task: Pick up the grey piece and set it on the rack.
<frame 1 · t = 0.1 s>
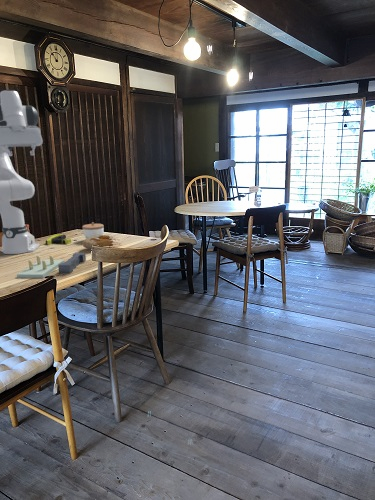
hand: (21, 155, 181), 52 cm above the table, tool tilted 20°, fingers open, 8 cm apart
stun gun: (61, 242, 247), on the table
rack: (42, 269, 188), on the table
grey piece: (73, 266, 192), on the table
lidded bowl: (94, 240, 247), on the table
nautilus: (102, 249, 224), on the table
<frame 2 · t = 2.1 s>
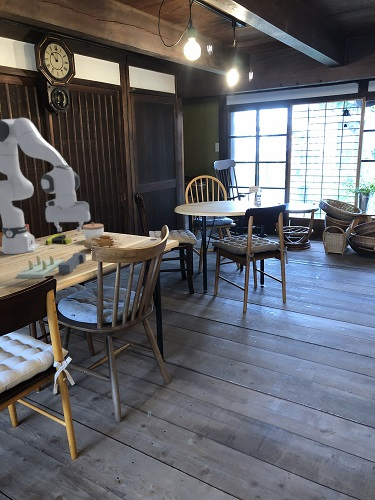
hand: (69, 231, 188), 17 cm above the table, tool pointing down, fingers open, 8 cm apart
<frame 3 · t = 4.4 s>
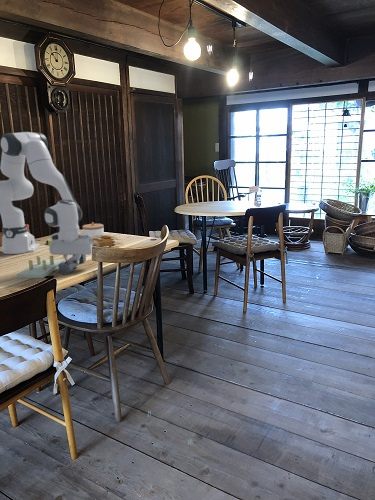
hand: (72, 263, 191), 2 cm above the table, tool pointing down, fingers closed on grey piece, 3 cm apart
grey piece: (73, 266, 192), on the table, touching gripper
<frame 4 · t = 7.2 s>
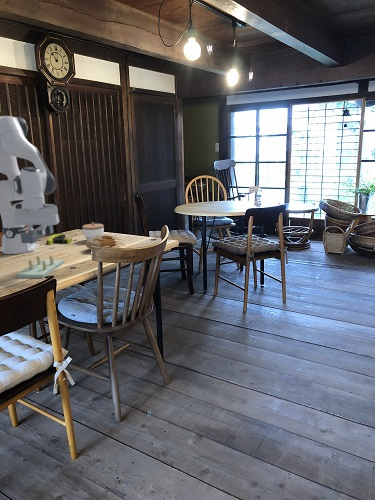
hand: (38, 234, 184), 17 cm above the table, tool pointing down, fingers closed on grey piece, 3 cm apart
grey piece: (38, 237, 185), point 15 cm above the table, touching gripper
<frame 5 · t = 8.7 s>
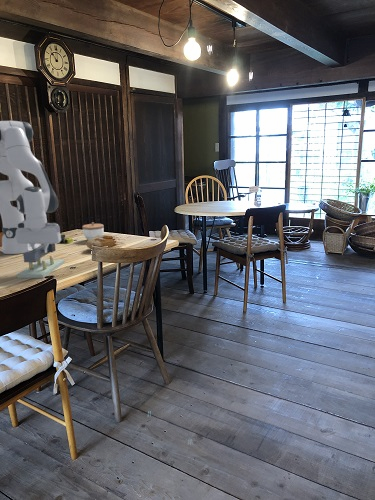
hand: (40, 252, 186), 8 cm above the table, tool pointing down, fingers closed on grey piece, 3 cm apart
grey piece: (40, 256, 187), point 7 cm above the table, touching gripper
when the fingers open (5 cm above the table, at t = 10.0 s): grey piece drops 1 cm, resting on rack.
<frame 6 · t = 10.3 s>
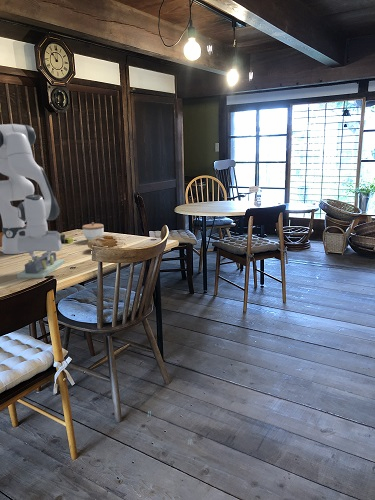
hand: (41, 260, 187), 5 cm above the table, tool pointing down, fingers open, 5 cm apart
grey piece: (41, 266, 188), point 1 cm above the table, touching rack
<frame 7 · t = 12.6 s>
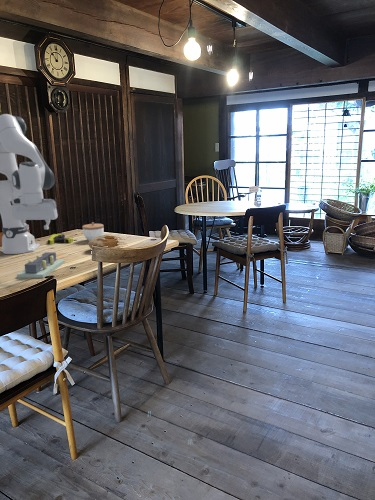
hand: (36, 229, 184), 19 cm above the table, tool pointing down, fingers open, 8 cm apart
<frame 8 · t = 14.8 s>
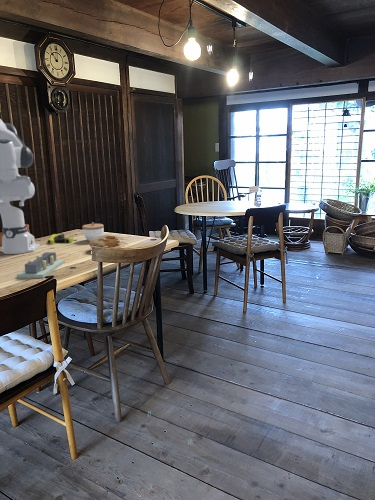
hand: (12, 206, 188), 29 cm above the table, tool pointing down, fingers open, 8 cm apart
at the end: grey piece 0.1 cm off-centre on the rack, point 1.5 cm above the rack's base; grey piece tilted 0°; the gripper is holding nothing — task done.
